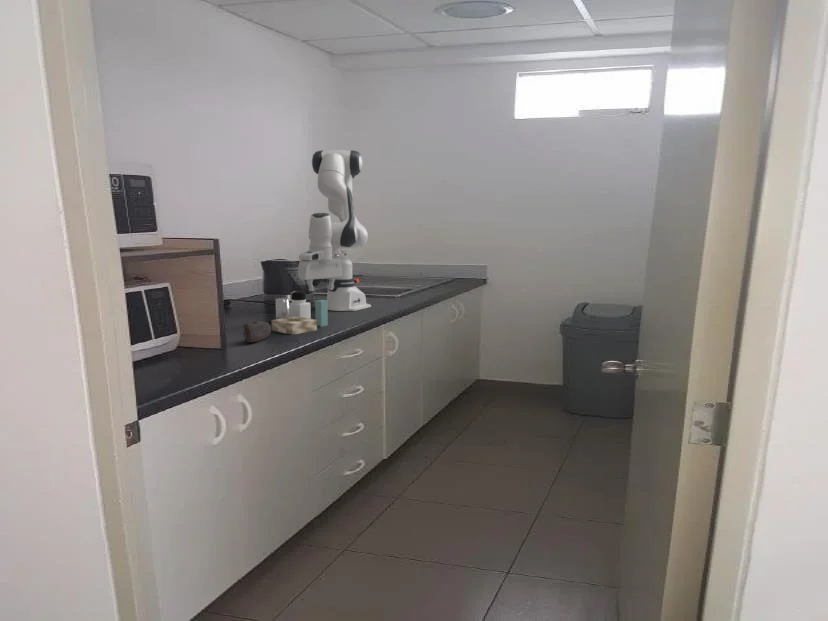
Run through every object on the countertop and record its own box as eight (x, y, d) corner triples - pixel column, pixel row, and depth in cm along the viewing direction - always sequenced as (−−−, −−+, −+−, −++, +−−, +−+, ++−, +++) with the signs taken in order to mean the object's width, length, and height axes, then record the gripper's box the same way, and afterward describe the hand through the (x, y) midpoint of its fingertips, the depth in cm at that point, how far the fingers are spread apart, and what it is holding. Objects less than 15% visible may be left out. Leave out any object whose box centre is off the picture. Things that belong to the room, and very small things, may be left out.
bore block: (296, 326, 249) (296, 316, 248) (316, 330, 242) (316, 319, 241) (271, 330, 240) (271, 320, 239) (292, 334, 232) (292, 324, 232)
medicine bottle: (311, 319, 264) (310, 291, 262) (299, 322, 258) (299, 293, 256) (298, 317, 268) (297, 289, 266) (286, 320, 262) (285, 291, 260)
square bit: (321, 324, 254) (321, 299, 252) (327, 325, 252) (327, 300, 250) (315, 325, 251) (315, 300, 250) (321, 326, 249) (321, 301, 248)
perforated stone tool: (264, 336, 230) (264, 317, 229) (276, 337, 228) (276, 318, 227) (238, 344, 216) (237, 324, 215) (251, 345, 214) (250, 325, 213)
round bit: (284, 322, 258) (283, 297, 256) (292, 323, 254) (292, 299, 253) (273, 323, 254) (272, 299, 252) (282, 325, 250) (281, 300, 249)
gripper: (334, 253, 257) (334, 287, 259) (295, 255, 241) (295, 291, 243) (345, 254, 253) (345, 288, 255) (306, 256, 237) (306, 292, 239)
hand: (321, 290), depth 249 cm, fingers open, 8 cm apart
